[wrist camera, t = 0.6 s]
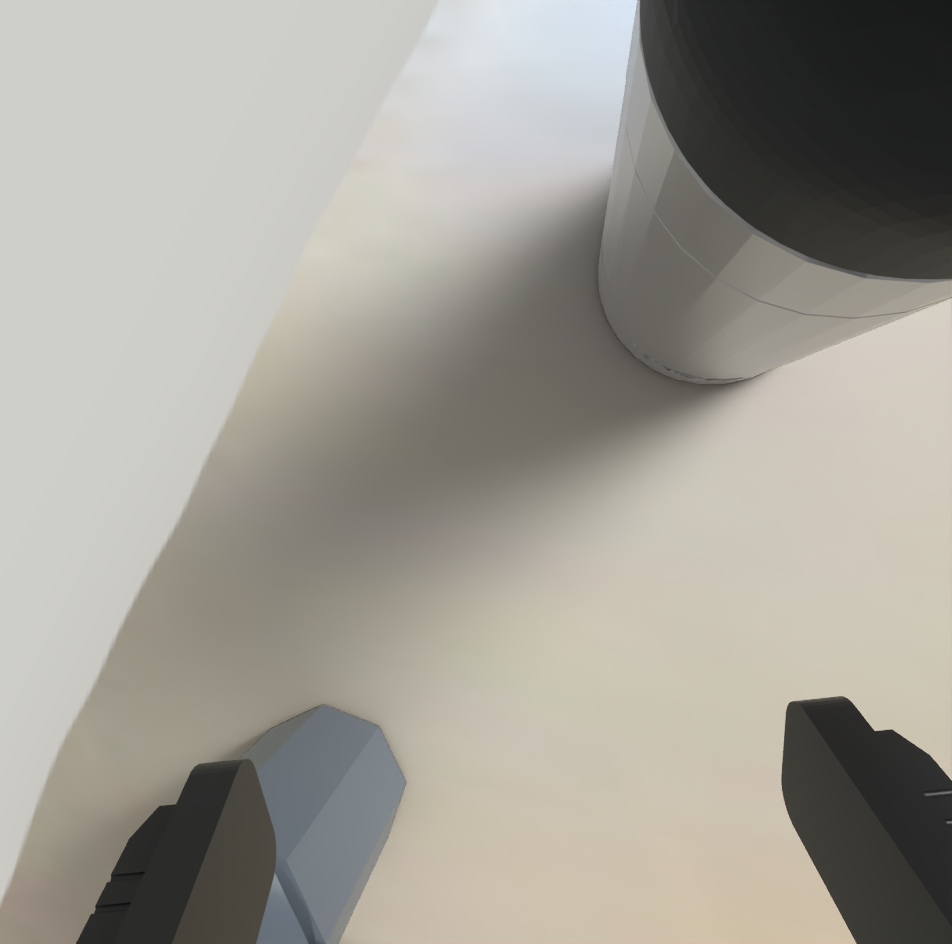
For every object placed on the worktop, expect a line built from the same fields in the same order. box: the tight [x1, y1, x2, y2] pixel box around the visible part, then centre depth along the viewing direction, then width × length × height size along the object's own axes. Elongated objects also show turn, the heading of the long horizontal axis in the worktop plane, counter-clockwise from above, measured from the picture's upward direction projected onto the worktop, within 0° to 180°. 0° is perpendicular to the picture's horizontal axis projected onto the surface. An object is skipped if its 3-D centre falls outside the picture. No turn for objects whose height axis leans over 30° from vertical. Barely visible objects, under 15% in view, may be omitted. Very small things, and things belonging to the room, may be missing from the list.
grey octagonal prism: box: [238, 704, 406, 944], centre depth 26 cm, size 6×6×10 cm
